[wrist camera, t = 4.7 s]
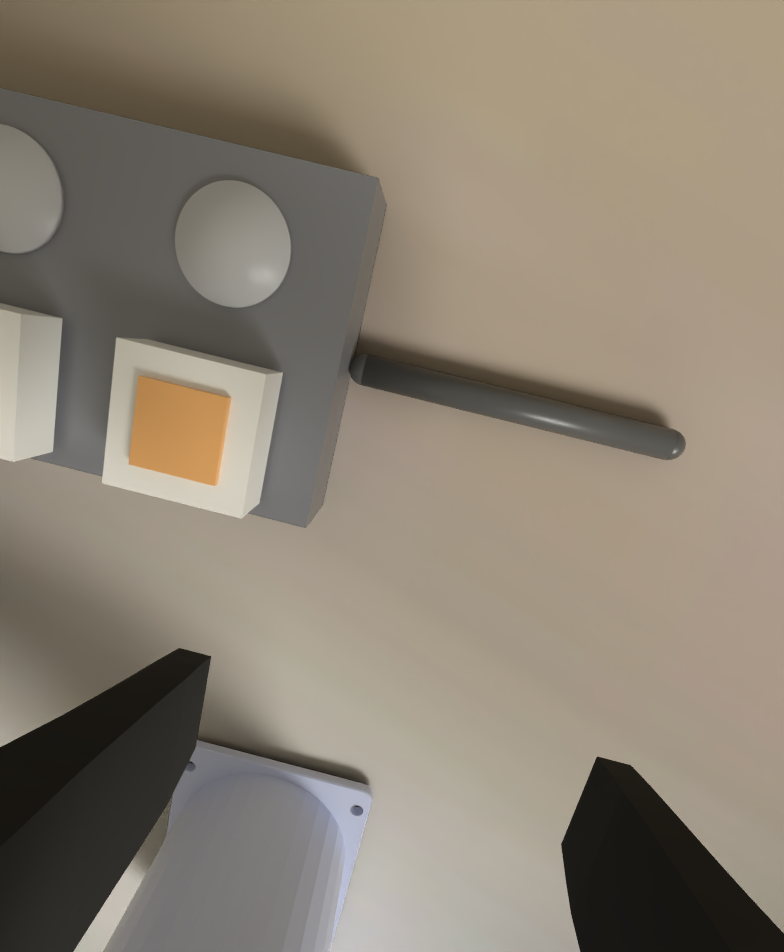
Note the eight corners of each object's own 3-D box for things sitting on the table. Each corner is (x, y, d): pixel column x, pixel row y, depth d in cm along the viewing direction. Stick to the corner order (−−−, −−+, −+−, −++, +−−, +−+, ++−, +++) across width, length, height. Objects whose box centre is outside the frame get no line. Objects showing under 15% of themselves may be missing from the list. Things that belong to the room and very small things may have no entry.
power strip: (623, 580, 18) (656, 619, 15) (-207, 371, 19) (-312, 373, 16) (735, 288, 15) (797, 275, 13) (-225, 58, 16) (-352, 1, 13)
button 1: (259, 503, 15) (238, 521, 14) (133, 471, 15) (97, 485, 14) (282, 372, 14) (263, 374, 13) (147, 339, 14) (111, 336, 13)
